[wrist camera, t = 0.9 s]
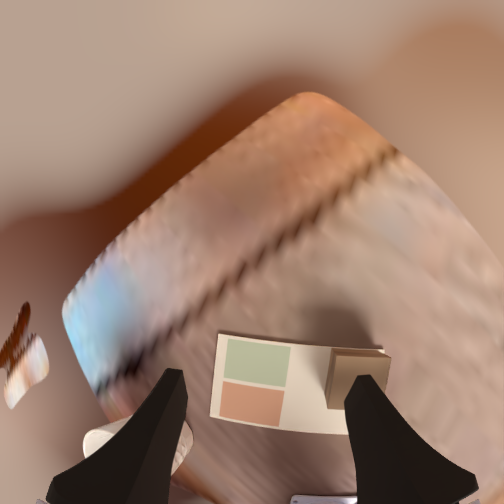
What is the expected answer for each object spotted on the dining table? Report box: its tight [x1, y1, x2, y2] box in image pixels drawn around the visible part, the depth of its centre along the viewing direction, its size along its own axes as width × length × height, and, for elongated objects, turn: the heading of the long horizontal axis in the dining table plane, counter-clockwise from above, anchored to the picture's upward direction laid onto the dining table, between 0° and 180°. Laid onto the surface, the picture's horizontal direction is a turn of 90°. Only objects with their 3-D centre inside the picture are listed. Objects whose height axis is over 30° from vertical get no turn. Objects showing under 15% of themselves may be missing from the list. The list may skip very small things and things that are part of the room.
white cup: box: [83, 415, 193, 475], centre depth 20 cm, size 8×8×10 cm
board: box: [210, 334, 385, 434], centre depth 23 cm, size 9×16×1 cm, turn 83°
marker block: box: [324, 348, 391, 410], centre depth 20 cm, size 4×4×4 cm
